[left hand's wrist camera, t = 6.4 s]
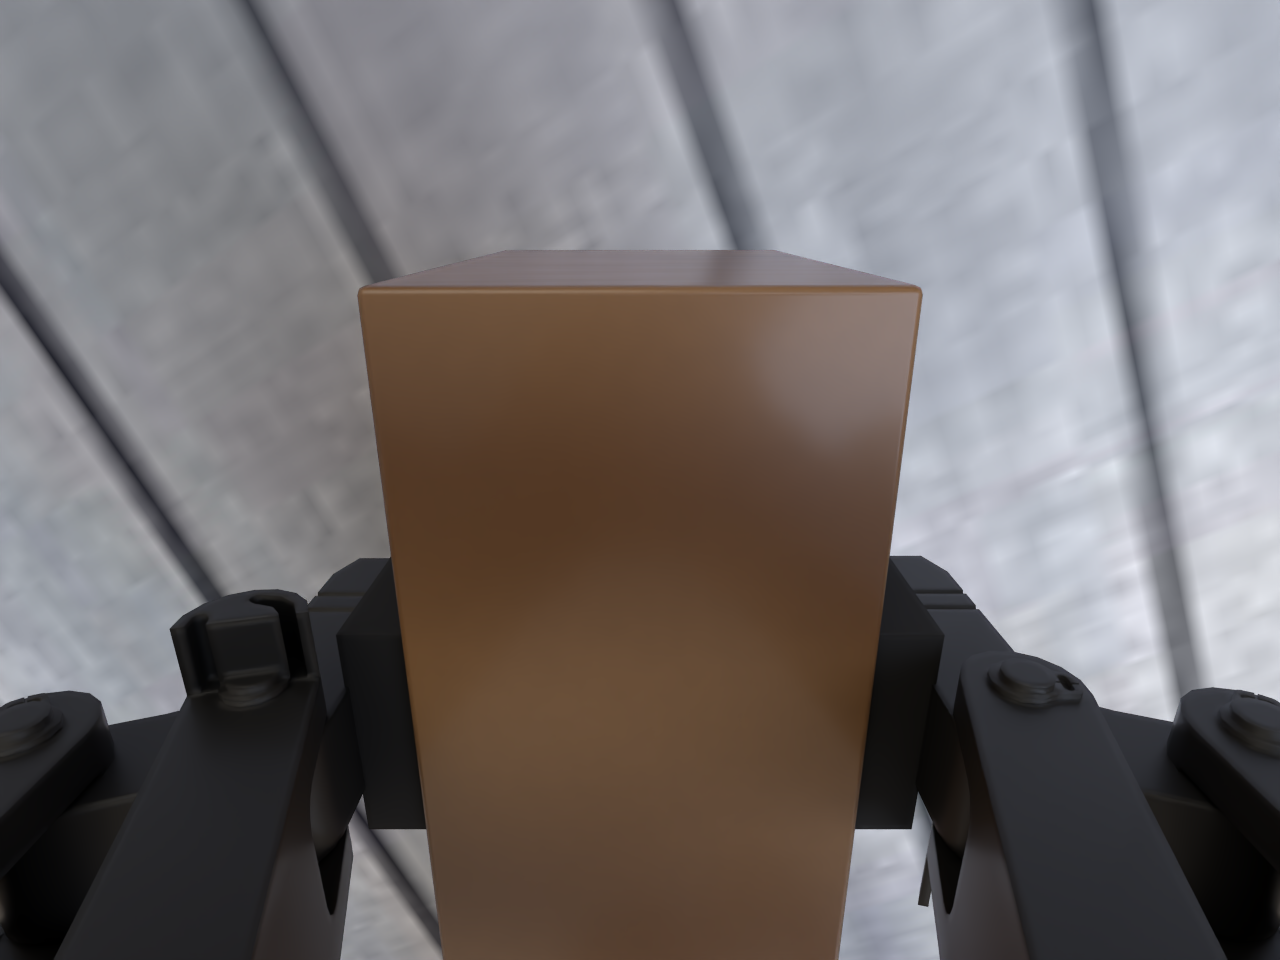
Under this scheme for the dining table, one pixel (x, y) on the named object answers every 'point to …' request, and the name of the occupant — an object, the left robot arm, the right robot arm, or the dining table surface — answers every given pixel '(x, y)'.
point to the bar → (640, 588)
